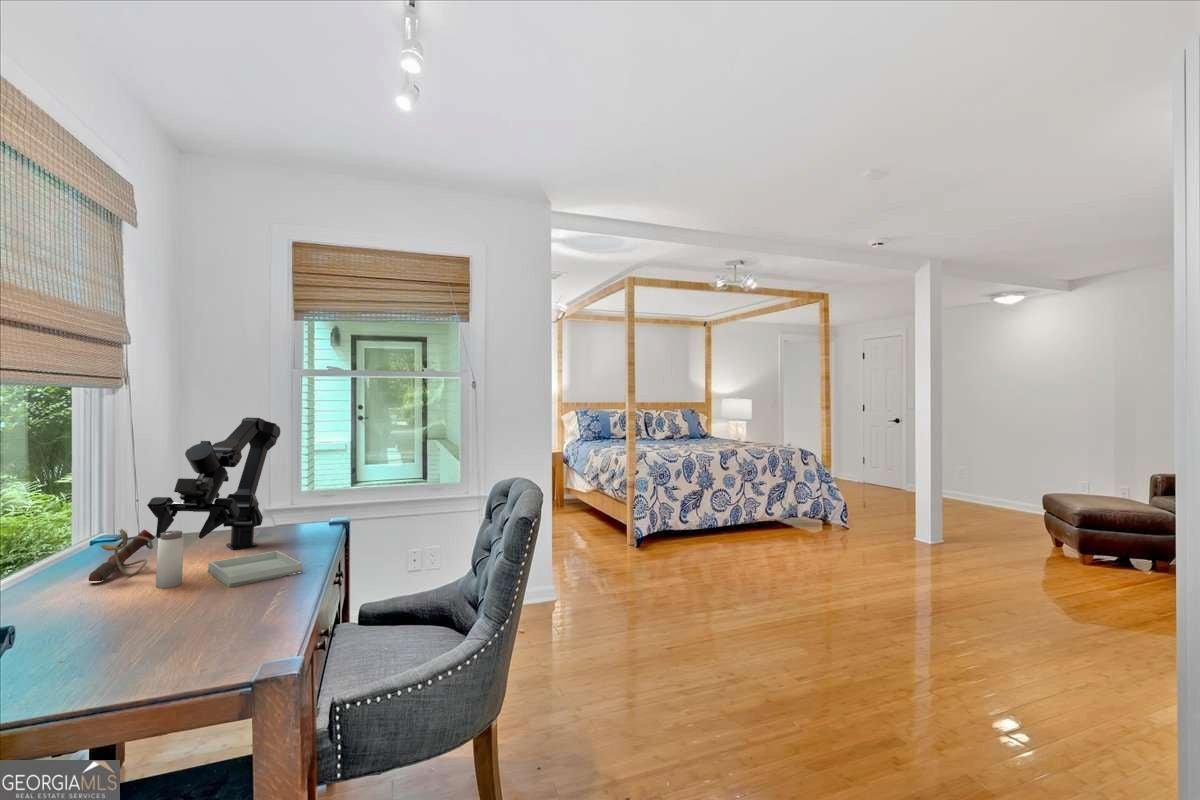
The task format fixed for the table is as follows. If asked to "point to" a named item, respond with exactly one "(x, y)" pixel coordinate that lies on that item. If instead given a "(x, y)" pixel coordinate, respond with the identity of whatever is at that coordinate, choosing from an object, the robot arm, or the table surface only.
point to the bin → (253, 568)
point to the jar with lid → (169, 559)
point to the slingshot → (122, 555)
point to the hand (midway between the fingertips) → (178, 537)
